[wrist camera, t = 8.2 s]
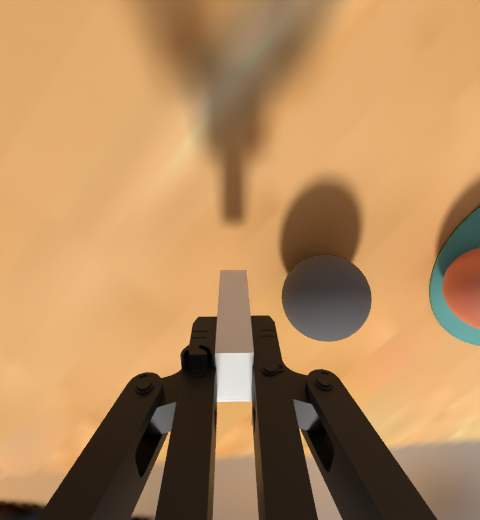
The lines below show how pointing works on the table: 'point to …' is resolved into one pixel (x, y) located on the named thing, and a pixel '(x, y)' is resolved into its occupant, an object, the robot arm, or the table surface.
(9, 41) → the table surface
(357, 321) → the dark gray ball
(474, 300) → the object ball
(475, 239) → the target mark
